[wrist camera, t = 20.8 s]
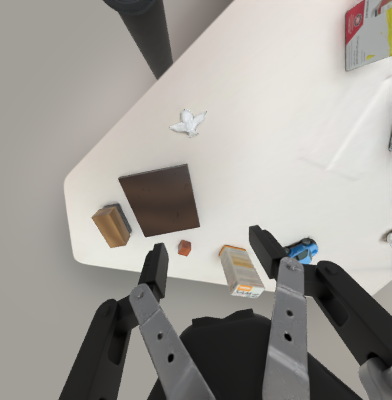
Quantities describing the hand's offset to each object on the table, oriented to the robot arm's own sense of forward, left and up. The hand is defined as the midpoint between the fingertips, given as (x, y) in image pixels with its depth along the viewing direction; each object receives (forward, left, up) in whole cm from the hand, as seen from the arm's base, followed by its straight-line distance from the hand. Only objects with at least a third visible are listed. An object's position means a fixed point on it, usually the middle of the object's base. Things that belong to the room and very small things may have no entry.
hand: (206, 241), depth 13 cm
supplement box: (+30, +8, -23) cm, 39 cm away
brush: (+9, -22, -23) cm, 33 cm away
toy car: (+34, +30, -23) cm, 51 cm away
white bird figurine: (-10, +1, -23) cm, 25 cm away
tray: (+7, -9, -23) cm, 26 cm away
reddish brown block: (+24, -6, -22) cm, 32 cm away
